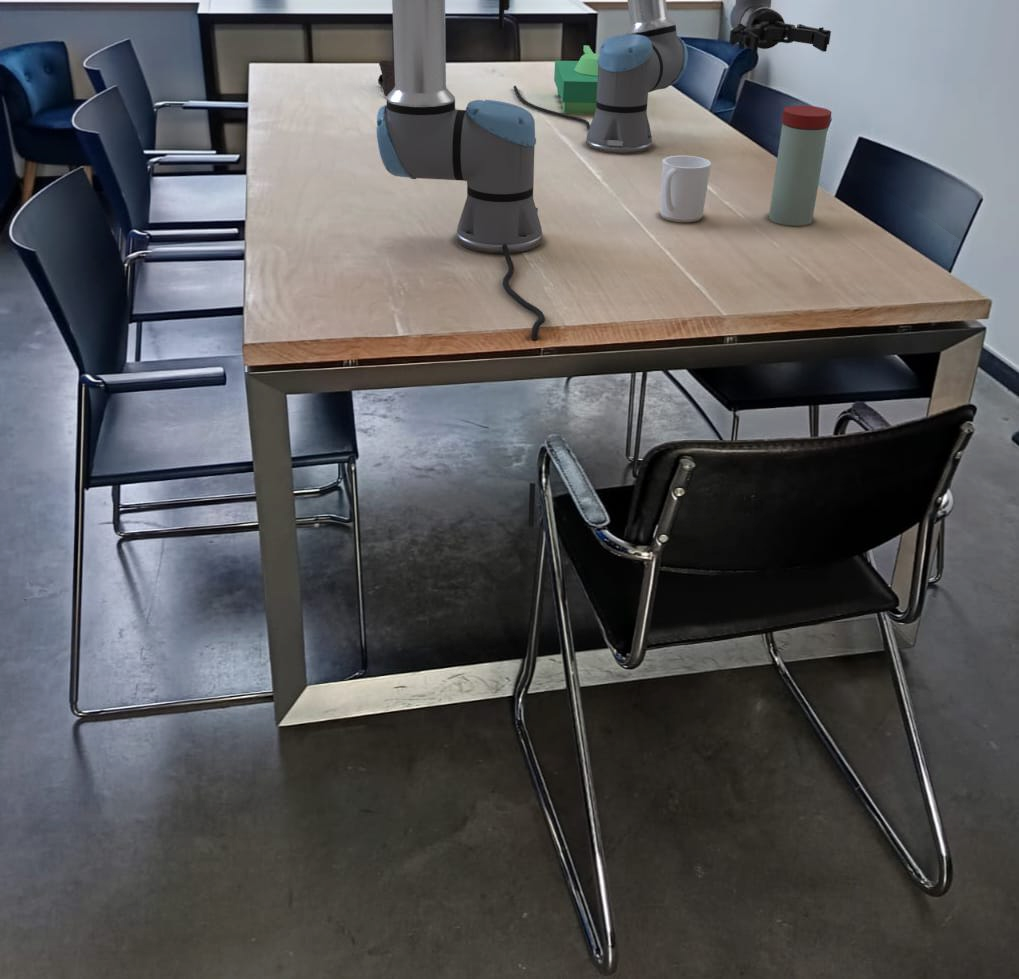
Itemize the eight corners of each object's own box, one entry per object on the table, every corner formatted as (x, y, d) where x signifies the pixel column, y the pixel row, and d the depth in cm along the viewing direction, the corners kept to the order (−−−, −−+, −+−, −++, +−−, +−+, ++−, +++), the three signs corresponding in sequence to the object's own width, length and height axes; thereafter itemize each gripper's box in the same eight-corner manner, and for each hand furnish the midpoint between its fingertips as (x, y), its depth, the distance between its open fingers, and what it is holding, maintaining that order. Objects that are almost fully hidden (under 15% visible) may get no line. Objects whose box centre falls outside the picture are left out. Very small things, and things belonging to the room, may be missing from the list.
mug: (673, 205, 215) (679, 152, 210) (713, 215, 210) (719, 161, 205) (642, 218, 208) (647, 164, 202) (683, 229, 203) (689, 173, 197)
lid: (793, 129, 196) (795, 116, 195) (774, 118, 203) (775, 106, 202) (837, 128, 198) (839, 115, 196) (817, 117, 205) (819, 104, 204)
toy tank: (617, 42, 302) (635, 66, 272) (613, 88, 309) (631, 117, 279) (553, 40, 301) (564, 65, 271) (551, 87, 308) (562, 116, 278)
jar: (778, 226, 206) (795, 119, 195) (762, 213, 213) (777, 108, 202) (819, 225, 207) (837, 117, 197) (801, 211, 214) (818, 107, 204)
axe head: (443, 87, 294) (392, 77, 287) (436, 115, 299) (385, 106, 292) (421, 62, 307) (371, 52, 300) (414, 89, 311) (365, 80, 304)
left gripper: (534, -91, 215) (530, 25, 226) (409, -94, 217) (412, 20, 229) (530, -88, 209) (526, 31, 220) (401, -92, 211) (405, 26, 222)
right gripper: (818, 46, 232) (851, 64, 214) (702, 46, 230) (725, 64, 212) (824, 7, 228) (857, 23, 210) (705, 7, 226) (729, 23, 208)
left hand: (468, 26), depth 224 cm, fingers open, 13 cm apart
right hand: (791, 44), depth 211 cm, fingers open, 13 cm apart
